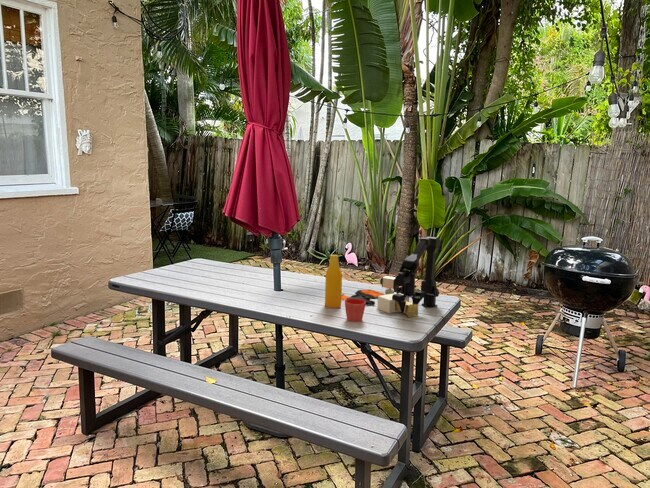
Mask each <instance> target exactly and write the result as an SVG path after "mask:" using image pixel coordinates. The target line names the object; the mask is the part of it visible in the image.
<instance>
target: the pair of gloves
mask: <svg viewBox="0 0 650 488" xmlns="http://www.w3.org/2000/svg"><path fill="white" fill-rule="evenodd" d="M381 295H386V293H382V292H379V291H376V290H373V289H358V290H356V291H355V292H354V294H353V295H351V296H348V295H345V294H344V293H342V294H341V301H342V300H343V301H345V300H347V299H361V300H364V301H365V302H366V304H365V305H367V306H371V305H373V306H374V305H375V304H376V301H374V300H372V299H375V300H378V296H381Z"/></svg>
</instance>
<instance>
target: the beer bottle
mask: <svg viewBox="0 0 650 488" xmlns="http://www.w3.org/2000/svg"><path fill="white" fill-rule="evenodd" d="M342 273H343V272H342V270H341V267H340V263H339V255H338V254H330V258H329V265H328V267H327V269H326V271H325V286H324V287H325V288H324V289H325V290H324V291H325V293H324V295H325V297H324V306H325V307H327V308H330V309H337V308H338V307H339V308H340V307H342V299H341V295H342V294H343V293H342V291H343V288H342V285H343V274H342Z"/></svg>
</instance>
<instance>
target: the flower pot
mask: <svg viewBox="0 0 650 488" xmlns="http://www.w3.org/2000/svg"><path fill="white" fill-rule="evenodd" d="M366 305H367V304H366V302H365V301H364V300H361V299H347V300H344V308H345V315H346V316H345V317H346V320H347V321H348V322H353V323H355V322H358V323H359V322H361V321H363V318H364V312H365V308H366Z"/></svg>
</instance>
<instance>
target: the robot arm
mask: <svg viewBox="0 0 650 488" xmlns="http://www.w3.org/2000/svg"><path fill="white" fill-rule="evenodd" d="M441 243H442V242H441V239H440V238H439V237H437V236H436V237H435V236H426V237H420V239H419V242H418V243H417V245H416V247H414V250H413V251H412V253H411V254H410V255H408V256H407V257H406V258H405V259H404V260H403V261H402V263H401V266H400V267H399V272H398V275H396V276H395V277H394V278H395V283H396V285H397V286H394V289H393V290H394V293H397V294H393V295H392V300H395V301H397V302H398V304H399V306H400V309H401V312H400V313H402V314H403V312H404V309H405V304H406V301H404V300H405V298H409V299H410V298H411V300H412V303H413V304H418V305H419V304H420V302H421V301H422V300H423V303H421V305H422V306H424V307H426V308H433V307H438V304H436V301H437V300H436V299H437V298H438V297H439V296H440V290H439V288H438V287H437V281H436V279H435V270H436V258H437V252H439V249H440V245H441ZM425 251H426V263H425V274H424V278H423V280H421V281H420V283H421V284H420V290H415V289H416V288H417V285H415V284H416V275H417V274H418V272H417V270H418V269H419V266H420V259H421V258H422V256H423V254H424V253H425ZM398 286H399V287H398ZM398 293H399V294H398ZM401 294H402V295H401Z"/></svg>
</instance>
